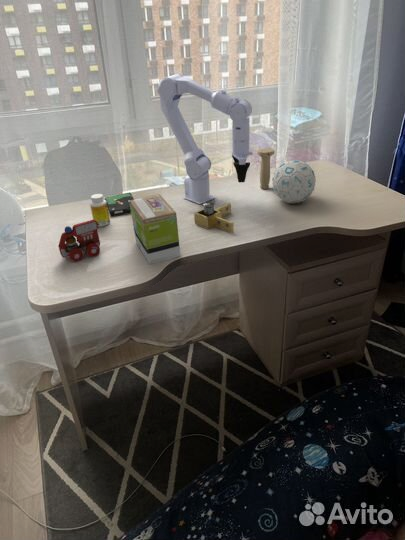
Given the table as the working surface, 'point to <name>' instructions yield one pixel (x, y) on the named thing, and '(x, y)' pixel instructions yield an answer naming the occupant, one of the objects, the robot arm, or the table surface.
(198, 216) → the gold square socket frame
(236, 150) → the robot arm
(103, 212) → the supplement bottle
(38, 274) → the table surface
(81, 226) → the toy fire truck
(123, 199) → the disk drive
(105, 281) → the table surface
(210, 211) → the pin
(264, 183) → the handle
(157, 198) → the tea box
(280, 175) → the puzzle ball
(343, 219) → the table surface
